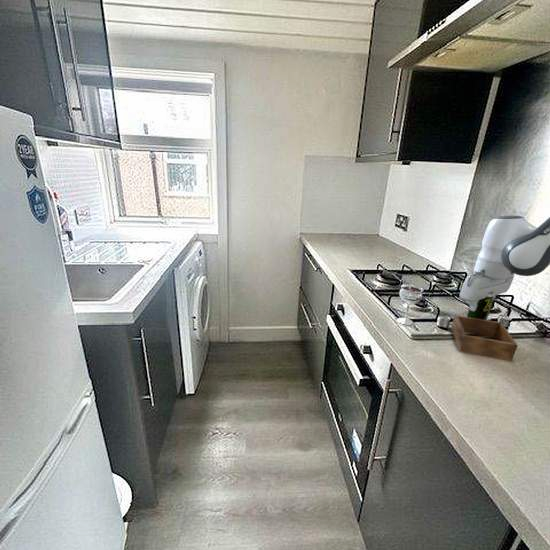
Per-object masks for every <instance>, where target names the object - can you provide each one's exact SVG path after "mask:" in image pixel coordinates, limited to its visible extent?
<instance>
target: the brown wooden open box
mask: <svg viewBox="0 0 550 550" xmlns="http://www.w3.org/2000/svg"><path fill="white" fill-rule="evenodd" d="M450 330H451V332H452V336H453V338H454V340H455V343H456V345H457V348H458V350H459V351H458V352H463V353H468V354H473V355H479V356H485V357H489V358H495V359H499V360H505V361H510V362H512V361H513V360H514V357H515V355H516V352H517V349H518V344H517V342H516V341H515V339H514V338H513V336H512V335H511V334H510V332H509V331H508V330H507V328H506V327H505V325H504V323H502V321H501V322H500V321H495V320H488V319H487V320H483V319H476V318H470V317H467V316H463V315H457V314H454V317H453V319H452V323H451V326H450ZM468 334H472V335H468ZM474 335H477V336H474ZM478 335H479V336H485V337H486V338H485V337H479V336H478ZM487 337H490V338H487ZM491 338H494V339H491Z"/></svg>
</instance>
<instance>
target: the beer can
mask: <svg viewBox="0 0 550 550" xmlns="http://www.w3.org/2000/svg"><path fill="white" fill-rule="evenodd" d="M493 298H494V292H493V293H488V295H487V296H486V298H484V299H480V300H479V302H477V306H479V307H478V310H477V311H471V310H470V309H469V308H470V306H469V307H468V311H467V314H466V317H470V318H476V319H483V320H486V319H487V320H488V316H489V313H490V309H491V307H492V304H493V301H494V300H493ZM494 299H495V298H494Z"/></svg>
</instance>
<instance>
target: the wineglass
mask: <svg viewBox="0 0 550 550" xmlns="http://www.w3.org/2000/svg"><path fill="white" fill-rule="evenodd" d="M423 292H424V288H423V287H421V286H419V285H417V284H412V283H403V284H401V285H400V289H399V292H398V295H399V298H400V299H401V300H402V301H403V302H404V303H406V308H405V315H404V317H398V318H397V319H396V322H398V323H399V324H400V325H404V326H411V325H413V324H414V322H413V320H411V319H410V318H408V314H409V309H410V306H411V305H413V304H417V303H418V302H420V301H421V300H422V299H423Z"/></svg>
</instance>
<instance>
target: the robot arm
mask: <svg viewBox="0 0 550 550" xmlns="http://www.w3.org/2000/svg"><path fill="white" fill-rule="evenodd" d="M549 266H550V216H549V217H548V218H546V220H545V221H544V222H542V223H541V224H540V225H539V226H537V227H536V225H535V226H534V225H533V224H531V222H528V220H527V219H526V218H525V217H523V216H521V215H500V216H496V217H494V218H492V219H491V220H490V221H489V223H488V224H487V226H486V229H485V231H484V234H483V237H482V240H481V249H480V251H479V253H478V255H477V258H476V261H475V265H474V268H473V272H472V273H471V274H470V275H468V276H466V278H465V280H464V281H463V284H462V286H461V289H460V292H459V298H460V299H461V300H463V301H465V302H468V303H469V307H470V308H469V307H468V310H469V309H470V310H471V311H477V310H478V307H479V306H477V302H479V300H480V299H484V298H486V296H487V295H488V293H493V292H494V298H493V301H494V300H495V299H496V298H497V295H501V294H505V293H507V292H508V291H509V290H510V288H511V286H512V283H513V281H514V278H515V275H517V276H520V277H521V276H523V277H532V276H536V275H538V274H539V275H540V274H541V273H542V272H543V271H545V270H546V269H547V268H548V267H549Z"/></svg>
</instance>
